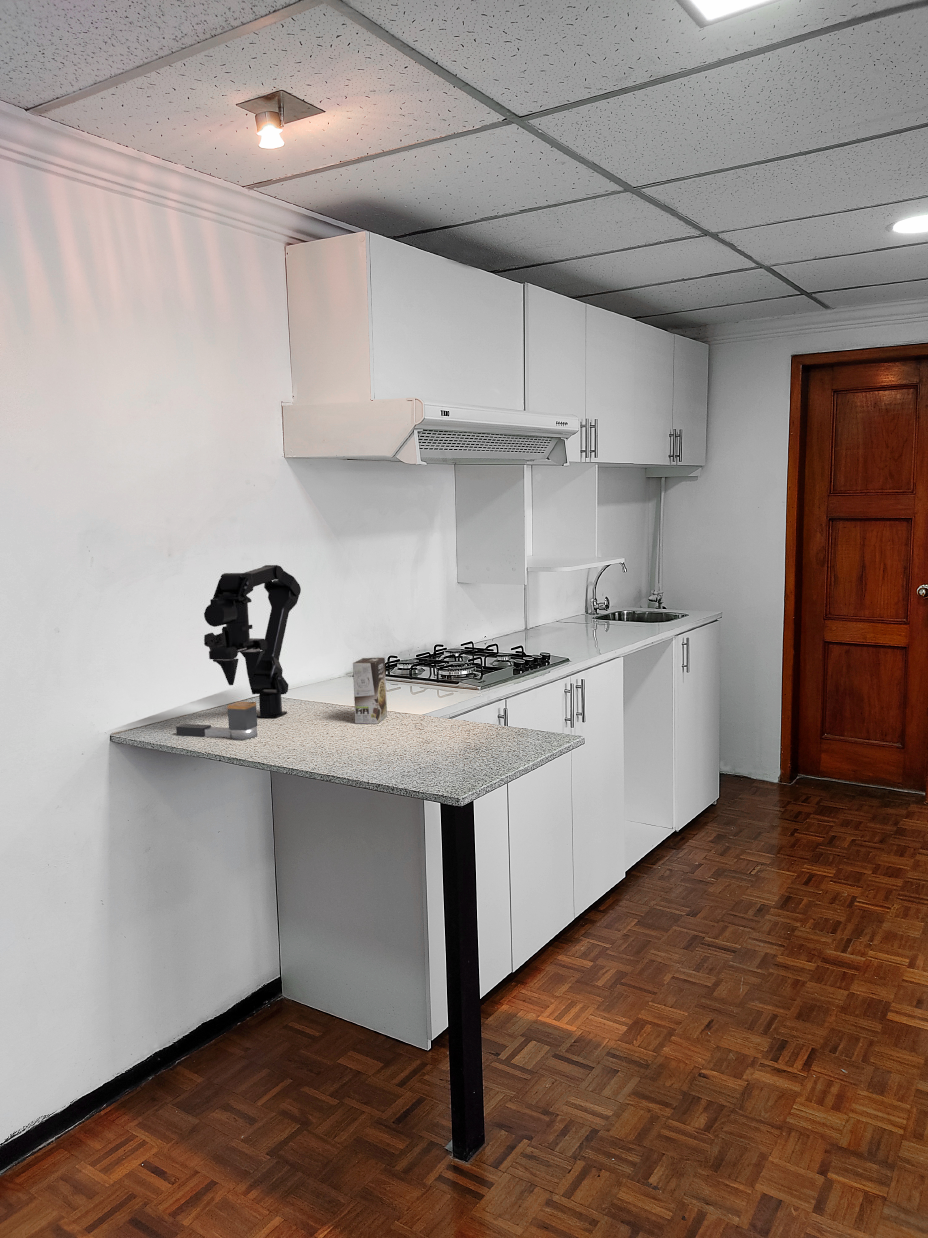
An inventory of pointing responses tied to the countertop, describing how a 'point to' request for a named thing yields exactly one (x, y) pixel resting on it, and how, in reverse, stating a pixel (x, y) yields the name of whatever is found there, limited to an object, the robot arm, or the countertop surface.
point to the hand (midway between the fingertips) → (240, 681)
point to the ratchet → (215, 732)
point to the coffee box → (370, 690)
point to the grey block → (242, 715)
